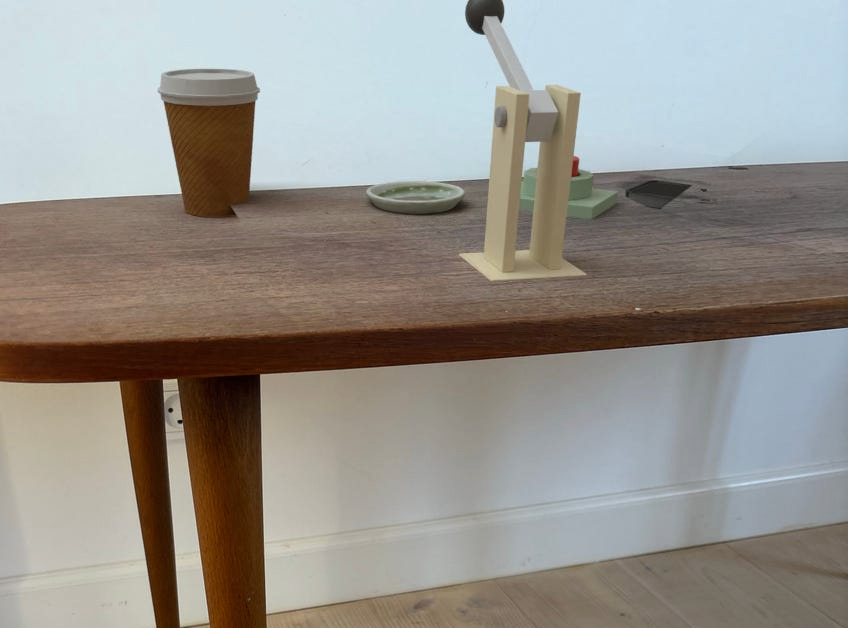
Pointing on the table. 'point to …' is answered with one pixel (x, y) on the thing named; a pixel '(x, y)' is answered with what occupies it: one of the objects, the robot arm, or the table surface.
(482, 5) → the control lever
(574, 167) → the button
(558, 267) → the lever bracket
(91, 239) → the table surface
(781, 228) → the table surface
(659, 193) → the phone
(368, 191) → the saucer
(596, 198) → the control block
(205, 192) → the disposable coffee cup
